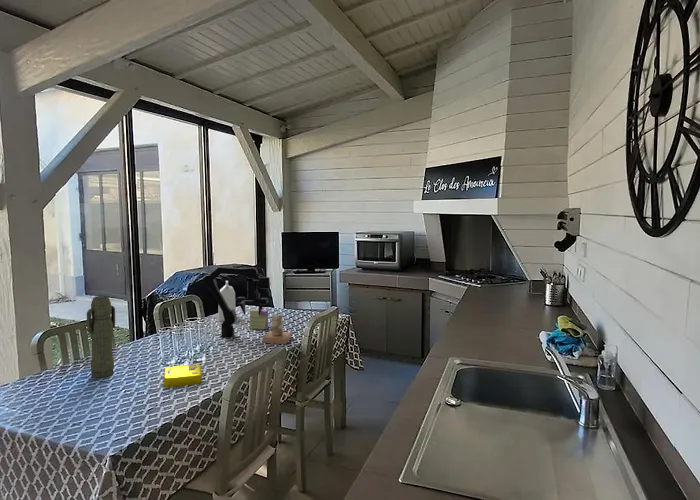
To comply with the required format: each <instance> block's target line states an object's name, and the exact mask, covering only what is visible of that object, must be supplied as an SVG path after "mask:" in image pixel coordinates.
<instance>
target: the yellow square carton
mask: <svg viewBox="0 0 700 500" xmlns="http://www.w3.org/2000/svg"><path fill="white" fill-rule="evenodd" d="M202 376H203V375H202V366H201V365H200V364H199V363H196V364H185V365H176V366H175V365H173V366H166V367H165V368H164V373H163V387H164V388H177V387H184V386H192V385H193V386H194V385H200V384H201V383H202Z"/></svg>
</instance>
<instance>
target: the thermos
mask: <svg viewBox="0 0 700 500" xmlns="http://www.w3.org/2000/svg"><path fill="white" fill-rule="evenodd" d="M115 328H116V308H115V306H114V305H112V302H111V299H110V297H109V296H107V295H99V296H98V295H97V296H94V297H93V298H92V299H91V303H90V308H89V309H88V310H87V312H86V332H87V333H89V338H90V339H91V360H90V372H91V375H90V376H91V378H92V379H98V380H99V379H100V380H101V379H106V378H110V377H112V376H113V375H114V374H115V373H114V372H115V371H114V369H115V364H114V363H115V360H114V356H113V336H114V329H115Z"/></svg>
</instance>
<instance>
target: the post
mask: <svg viewBox="0 0 700 500" xmlns="http://www.w3.org/2000/svg"><path fill="white" fill-rule="evenodd" d="M271 332H272V336H281V335H283V332H284V331H283V315H281V314H275V315H272V316H271Z"/></svg>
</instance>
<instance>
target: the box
mask: <svg viewBox="0 0 700 500" xmlns="http://www.w3.org/2000/svg"><path fill="white" fill-rule="evenodd" d="M267 327H268V328H269V309H262V311H261V314H260V315H259V308H258V309H257V308H252V309H251V310H249V329H251V330H264V329H266V328H267ZM268 328H267V329H268ZM267 329H266V330H267Z"/></svg>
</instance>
